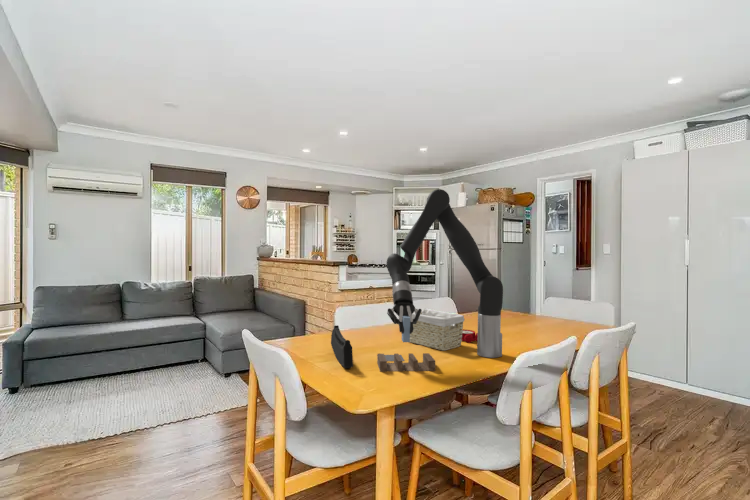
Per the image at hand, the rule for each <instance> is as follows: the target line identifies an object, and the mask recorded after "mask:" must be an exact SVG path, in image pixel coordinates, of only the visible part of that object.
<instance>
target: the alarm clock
mask: <svg viewBox="0 0 750 500" xmlns="http://www.w3.org/2000/svg"><path fill="white" fill-rule="evenodd" d="M462 330H463V333H462V338H461V339H462V341H461V342H465V343H472V342H477V338H478V332H476V331H475V330H471V329H465V328H463V329H462ZM459 339H460V338H459Z"/></svg>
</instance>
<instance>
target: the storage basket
mask: <svg viewBox="0 0 750 500" xmlns="http://www.w3.org/2000/svg"><path fill="white" fill-rule="evenodd" d="M417 309H418V310H419V309H421V310H422V311H421V314H420V316H419V319H418V321H417V323H416V324H413V328H414V329H413V332H412V334H410V342H409V343H412V344H417V345H418V346H419V345H420V346H424V347H427V348H430V349H436V350H438V351H442V352H443V351H447V350H452V349H455V348H459V347H461V345H462V342H463V341H462V339H461V338H462V333H463V330H462V329H464V322H465V317H464V315H462V314H459V313H452V312H447V311H443V310H437V309H433V308H432V309H430V308H417ZM415 316H416V314H415V312H413V314H412V319H414V318H415ZM459 338H460V339H459Z"/></svg>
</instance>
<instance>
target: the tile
mask: <svg viewBox="0 0 750 500" xmlns="http://www.w3.org/2000/svg"><path fill="white" fill-rule="evenodd" d="M402 317H403V321H402V322H403V326H404V333H403V334H402V333H401V341H402V342H403V343H411V342H410V317H409V316H402Z"/></svg>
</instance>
